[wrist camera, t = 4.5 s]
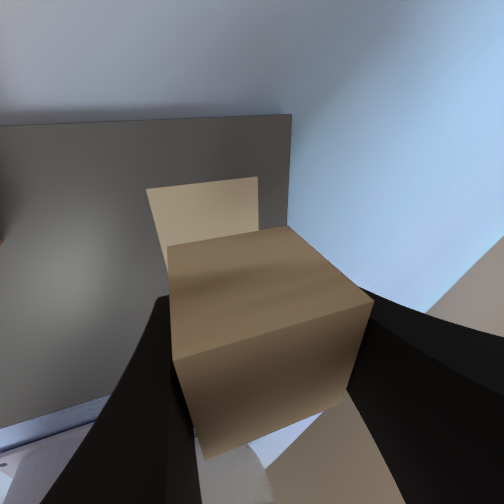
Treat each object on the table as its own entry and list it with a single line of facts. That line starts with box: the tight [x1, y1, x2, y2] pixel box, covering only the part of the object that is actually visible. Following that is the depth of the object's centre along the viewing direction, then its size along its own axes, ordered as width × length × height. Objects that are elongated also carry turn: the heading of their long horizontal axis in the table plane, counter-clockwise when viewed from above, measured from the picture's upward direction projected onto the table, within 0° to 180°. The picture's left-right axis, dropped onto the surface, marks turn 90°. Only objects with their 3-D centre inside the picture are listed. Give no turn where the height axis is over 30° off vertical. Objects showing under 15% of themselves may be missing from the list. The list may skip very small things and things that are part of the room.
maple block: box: [167, 226, 374, 460], centre depth 8 cm, size 4×4×4 cm
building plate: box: [0, 114, 292, 429], centre depth 15 cm, size 18×22×1 cm
